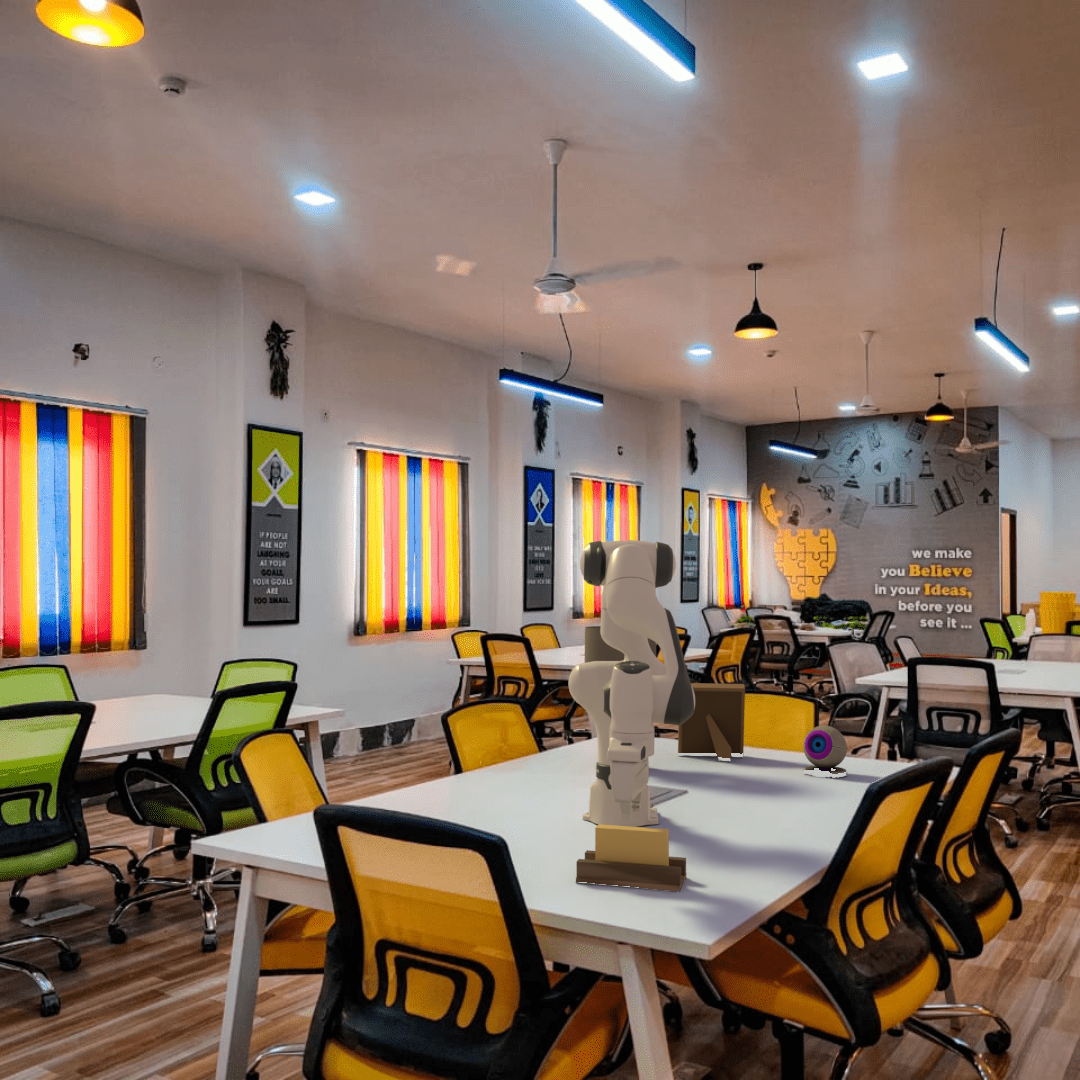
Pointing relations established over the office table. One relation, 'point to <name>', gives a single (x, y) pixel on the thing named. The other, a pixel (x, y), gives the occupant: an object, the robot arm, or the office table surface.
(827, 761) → the webcam
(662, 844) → the door panel
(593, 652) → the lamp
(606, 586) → the robot arm
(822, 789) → the office table surface
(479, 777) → the office table surface
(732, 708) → the photo frame
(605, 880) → the sliding track
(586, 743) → the office table surface
